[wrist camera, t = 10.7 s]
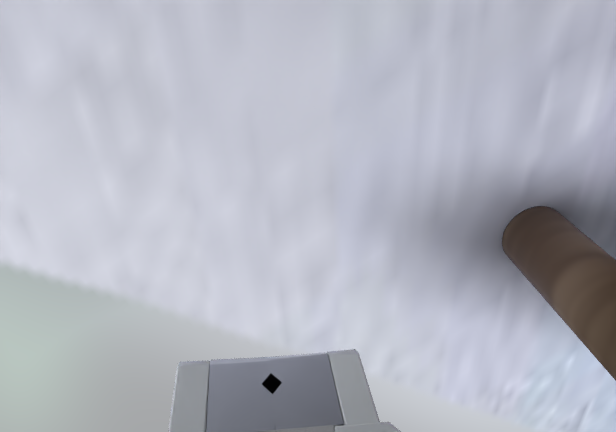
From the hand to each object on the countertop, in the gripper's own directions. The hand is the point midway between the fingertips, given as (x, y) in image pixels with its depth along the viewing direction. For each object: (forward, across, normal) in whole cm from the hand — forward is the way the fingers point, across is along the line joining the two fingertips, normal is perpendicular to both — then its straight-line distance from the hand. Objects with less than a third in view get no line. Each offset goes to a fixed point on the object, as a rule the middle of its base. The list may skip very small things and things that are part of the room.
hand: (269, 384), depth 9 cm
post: (+14, -13, +5) cm, 20 cm away
